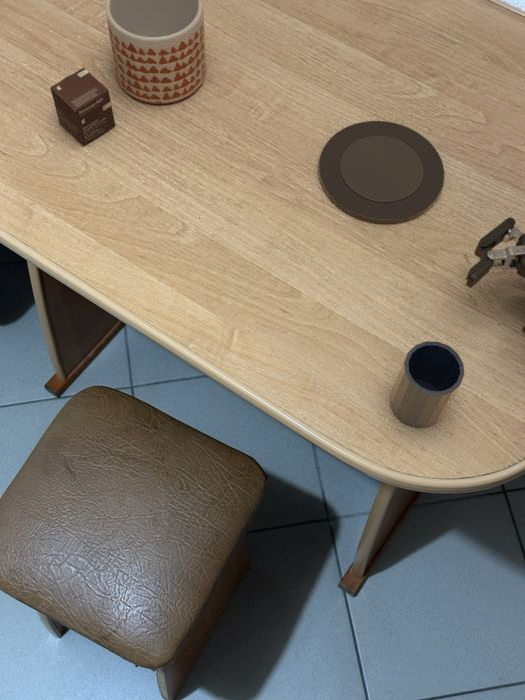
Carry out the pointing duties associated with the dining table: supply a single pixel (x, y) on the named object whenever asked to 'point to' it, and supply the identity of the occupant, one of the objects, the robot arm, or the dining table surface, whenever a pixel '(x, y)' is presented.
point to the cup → (426, 384)
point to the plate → (381, 172)
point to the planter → (157, 47)
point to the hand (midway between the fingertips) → (497, 306)
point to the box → (83, 106)
